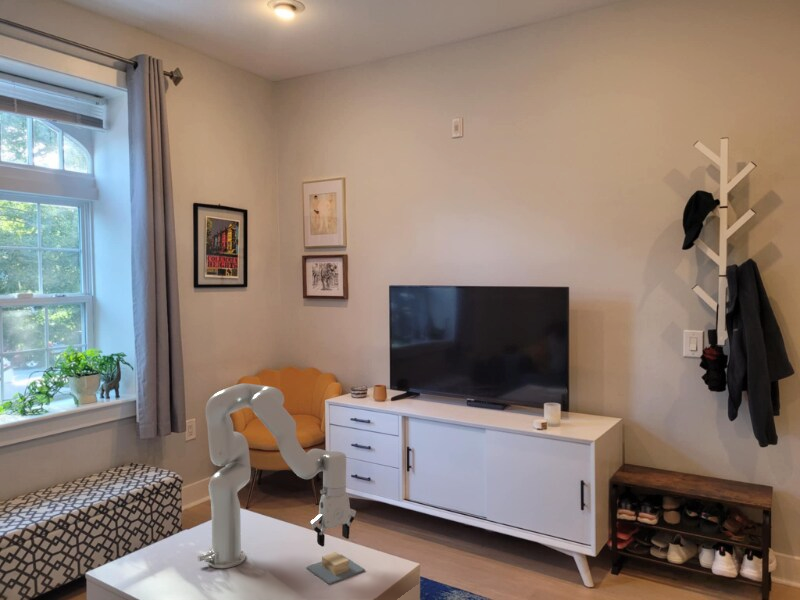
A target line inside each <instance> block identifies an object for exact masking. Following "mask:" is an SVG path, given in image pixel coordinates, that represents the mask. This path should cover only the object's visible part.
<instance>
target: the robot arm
mask: <svg viewBox="0 0 800 600" xmlns="http://www.w3.org/2000/svg"><path fill="white" fill-rule="evenodd" d="M284 403H285V397H284V394H283V392H282V391H281V390H280V389H279V388H277V387H273V386H269V385H261V384H253V383H238V384H235V385H232V386H229V387H227V388H224V389H222V390H219V391H217V392H216V393H214V394H213V395H211V397H210V398H209V399H208V400H207V402H206V405H205V411H204V412H205V419H206V424H207V439H208V441H207V442H208V449H209V450H208V451H209V458H210V461H211V463H212V464H213V465H214V466H218V467H222V468H221V469H219V470H217V472H215V473H214V474H213V475H212V476H211V478H210V479H209V483H208V493H209V494H208V495H209V499H210V505H211V506H210V510H211V511H210V512H211V547H210V548H209V549H208V551H207V552H206V553H205V554H199V555H197V561H198V562H203V561H204V563H207V564H208V566H209V567H211V568H215V569H229V568H233V567H236V566H238V565H240V564H242V563H244V562H245V560H246V552H245V551H244V550H242V540H241V539H242V534H241V531H242V530H241V529H242V527H241V526H242V525H241V504H240V500H239V497H238V496H239V495H238V492H239V491H240V490H241V489H243V488H244V487H246V485H247V484H248V483H249V481H250V479H251V474H252V473H251V472H252V471H251V468H252V467H251V459H250V449H249V443H248V440H247V438H246V437H245V435H244V434H242V433H241V432H238V431H234V422H233V420H232V418H231V416H230V415H231V414H232V413H235V412H238V411H240V410H242V409H244V408H250V409H251V411H252V412H253V413H254V415H255V416H256V417H257V418H258V419H259V420H260V422H261V423H262V425H264V427H265V428H266V429H267V430H268V431H269V432H270V433H271V435H272V436H273V437H274V439H275V440H276V444H277V448H278V450H279V452H280V455H281V457H282V459H283V460H284V462H285V463H286V464H287V466H288V467H289V468H290V469H291V470H292V472H293V473H294V474H296V476H297V477H298V478H301V479H304V480H310V479H312V478H314V477H316V475H317V474H319V473H320V472H323V474H322V475H323V476H322V489H320V490H319V493H320V494H321V496H320V501H319V507H318V515H317V516H315V518H314V519H312V520H311V521H310V525H311V528H312V530H314V531H315V532H316V539H317V541H316V542H317V544H318V545H319V546H320V547H321V548H322V547H325V542H326V541H325V539H326V538H325V536H326V535H325V531H326V530H327V529H328V530H329V529H333V528H337V527H340V526H342V535H341V536H342V537H344V538H345V539H348V540H349V539H350V531H351V530H350V528H351V526H352V523H353V522H354V520H355V516H356V513H357V510H356V509H352V508H351V506H350V503H351V502H350V496H349V493H348V492H347V490H346V489H347V487H346V486H347V456H346V454H345V453H344V452H341V451H330V450H325V449H321V448H311V449H310V450H308V451H307V452H306V451H305V450H304V449H303V447H302V446H301V444H300V442H299V440H298V438H297V422H296V420H295V419H294V418H293V417H292V415H291V414H290V413H289V412H288V410H287V409H285V407H284V406H283V405H284Z"/></svg>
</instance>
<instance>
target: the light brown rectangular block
mask: <svg viewBox="0 0 800 600" xmlns="http://www.w3.org/2000/svg"><path fill="white" fill-rule="evenodd" d="M342 555H343V554H342ZM342 555H341V554H340V553H338V552H337V551H334V552H332V553H329V554H326V555H323V556H321V561H322V566H323V567H324V568H325V569H327V570H328V571H330V572H331V573H333V574H334V575H337V574H340V573H342V572H345V571H347V570H349V560H350V559H349V558H348V559H349V560H348V559H346V558H347V557H346V556H345V557H346V558H345V557H343V556H344V555H343V556H342Z"/></svg>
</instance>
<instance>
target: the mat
mask: <svg viewBox="0 0 800 600" xmlns="http://www.w3.org/2000/svg"><path fill="white" fill-rule="evenodd" d="M340 555H342V556H343V557H345V558H346V559H348V560H349V570H347V571H345V572H342V573H340V574H337V575H334V574H333V573H331V572H330V571H328V570H327V569H325V568H324V567H323V566H322V560H321V561H318V562H316V563H313V564H311V565H307V566H306V567H305V568H306V570H308V571H309V572H311V573H312V574H313V575H314V576H316V577H317V578H318V579H320V580H321V581H323V582H324V583H325V584H327V585H329V586H330V585H334V584H335V583H338V582H340V581H343V580H346V579H348V578H351V577H353V576H356V575H358V574H360V573H363V572H366V569H365V568H364V567H362V566H361V565H359V564H357V563H356V562H355V561H352V560H351V559H349V558H348V557H346V556H345V555H343V554H340Z"/></svg>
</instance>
